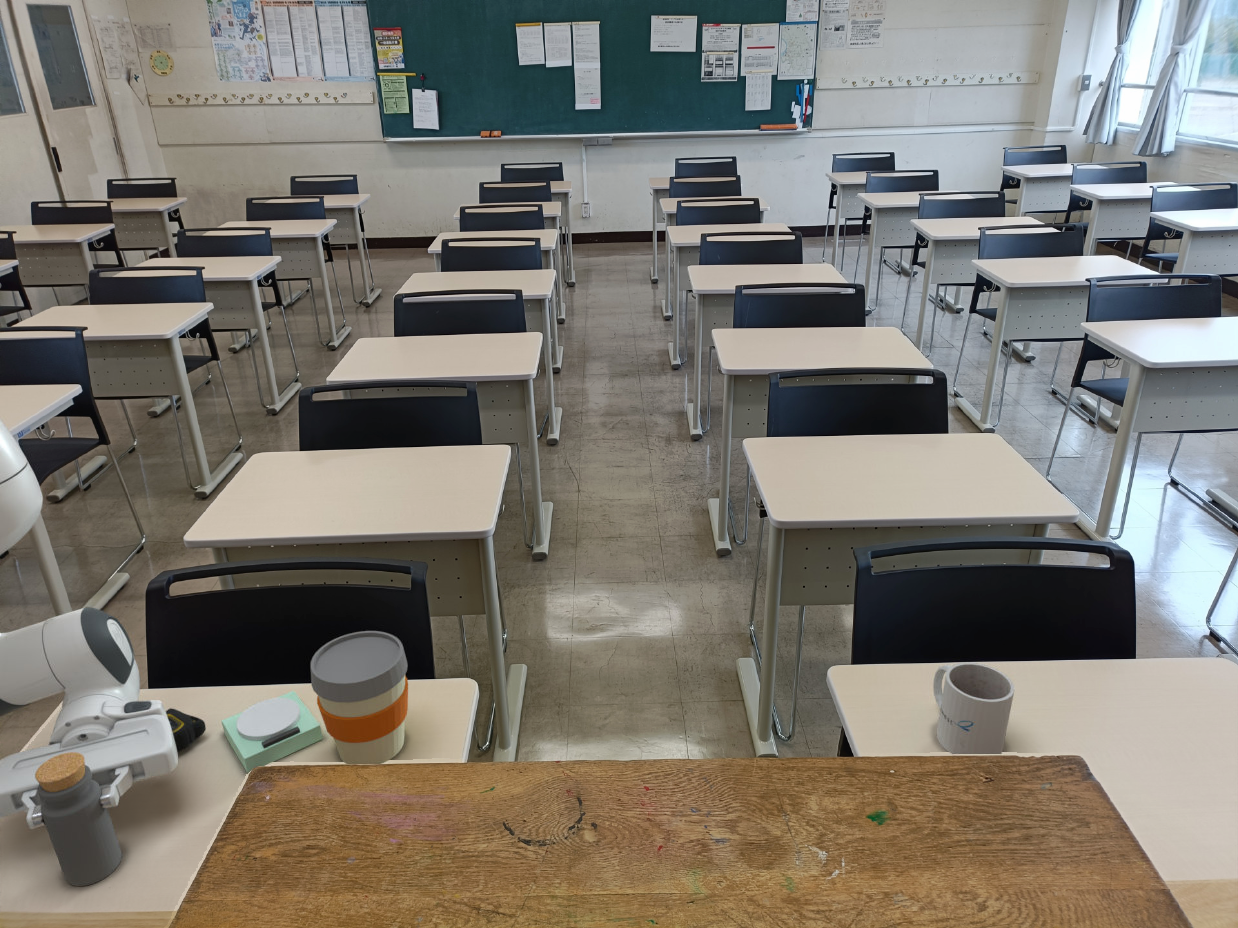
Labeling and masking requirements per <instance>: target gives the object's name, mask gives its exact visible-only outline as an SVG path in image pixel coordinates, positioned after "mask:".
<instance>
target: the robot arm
mask: <svg viewBox="0 0 1238 928" xmlns="http://www.w3.org/2000/svg"><path fill="white" fill-rule="evenodd" d="M43 496H44V495H43V492H42V489H41V487H40V483H39V481H38V479H37V476H36V474H35V472H34V470H33V468H32V466H31V465H30V463H29V461H28V459H27V456H26V455H25V454H24V452H23V450H22V448H21V447H20V445H19V443H18V442H17V440H16V438H15V437H14V436H13V435H12V433H11V431H10V430H9V429H8V427H7V426H6V424H5V423H4V422H3V421H2V419H1V418H0V555H3V554H4V553H5V552H7V551H8V550H9V549H12V547H13V546H15V545H16V544H17V543H19V541H20V540H22V539H23V538H24V537H25V536H26V535H27V534H28V533H29V531H30V530H32V528H33V527H34V525H35V523H36V522H37V520H38V518H39V517H40V514H41V512H42V509H43V501H44V497H43ZM138 666H139V665H138V663H137V661H136V659H135V652H134V647H133V644H132V641H131V639H130V637H129V634H128V632H127V631H126V628H125V627H124V625H123V624H122V623H121V622H120V620H118V619H117V618H116V617H115V616H112V615H111V614H109V613H107V612H105V611H104V610H101V609H98V608H96V607H91V606H85V607H83V608H79V609H75V610H73V611H69V612H67V613H63V614H60V615H59V614H58V615H57V616H53V617H50V618H48V619H46V620H44V621H40V622H37V623H34V624H31V625H28V626H24V627H21V628H18V629H15V630H11V631H9V632H0V718H1V717H3V716H5V715H8V714H10V713H12V712H15V711H18V710H19V709H23V708H24V707H27V706H29V705H30V704H32V703H35V702H37V701H40V700H42V699H45V698H49V697H51V696H54V695H57V694H61V693H63V692H64V696H63V698H62V703H61V709H60V711H59V713H58V715H57V717H56V720H55V723H54V726H53V729H52V733H51V735H50V738H49V742H48V744H47V745H43V746H40V747H36V748H32V749H28V750H24V751H19V752H16V753H12V754H10V755H7V756H4V757H3V758H1V759H0V818H4V817H7V816H11V815H15V814H18V813H22V812H25V814H26V824H27V826H28V829H29V830H33V829H37V828H41V827H43V826H46V825H45V822H44V819H43V817H42V814H41V804H42V802H43V800H42V799H41V798H40V796H39V794H38V785H39V782H38V781H37V780H36V778H35V773H36V771H37V769H38V768H39V767H40V766H41V765H42V764H43V763H44V762H46V761H47V760H49V759H51V758H53V757H55V756H58V755H61V754H64V753H69V752H76V753H80V754H82V755H83V756H84V758H85V765H87V766H88V767H89V768H90V770H91V773H92V779H91V780H94V781H96V782H97V783H98V784H99V786H100V788H101V796H100V803H101V804H102V809H110V808H114V807H118V805H119V800H120V797H122V796H123V795H124V794H125V793H126V792H127V791H128V790H129V789H130V788H131V787H132V786H133V783H137V782H141V781H145V780H148V779H152V778H156V777H160V776H164V775H168V774H170V773H171V772H172V771H174V770H175V769H176V768H177V767H178V764H179V755H178V753H179V752H178V753H177V748H176V744H175V740H174V736H173V732H172V729H171V726H170V722H169V720H168V717H167V714H166V711H167V710H166V709H165V707H164V704H163V702H162V701H161V700H158V699H151V700H149V699H147V700H139V699H140V693H141V692H140V690H141V677H140V671H139V667H138Z"/></svg>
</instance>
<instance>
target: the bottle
mask: <svg viewBox="0 0 1238 928" xmlns="http://www.w3.org/2000/svg"><path fill="white" fill-rule="evenodd" d="M35 778H36V780H37V781H38V782H39V785H38V794H39V796H40V798H41V799H42V800H43V802H42V804H41V814H42V817H43V819H44V822H45V825H44V826H45V827H46V831H47V834H48V836H49V838H50V841H51V844H52V847H53V850H54V852H55V855H56V857H57V860H58V863H59V866H60V868H61V871H62V874H63V876H64V879H65V880H66V882H67V884H69V885H71V886H74V887H85V886H90V885H93V884H96V883H98V882H100V881H102V880H103V879H105V878H107V877H109V875H111V874H113V872H114V871H115V870H116V869H117V868H118V866H119V865H120V863H121V861H122V850H121V847H120V843H119V840H118V837H117V834H116V832H115V829H114V828H115V827H114V825H113V821H112V818H111V815H110V812H109V808H107V809H102V804H101V803H100V796H101V788H100V786H99V784H98V783H97V782H96V781H94V780H91V779H92V773H91V770H90V768H89V767H88V766H87V765H85V758H84V756H83V755H82V754H80V753H76V752H69V753H64V754H61V755H58V756H55V757H53V758H51V759H49V760H47V761H46V762H44V763H43V764H42V765H41V766H40V767H39V768H38V769H37V771H36V773H35Z"/></svg>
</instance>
